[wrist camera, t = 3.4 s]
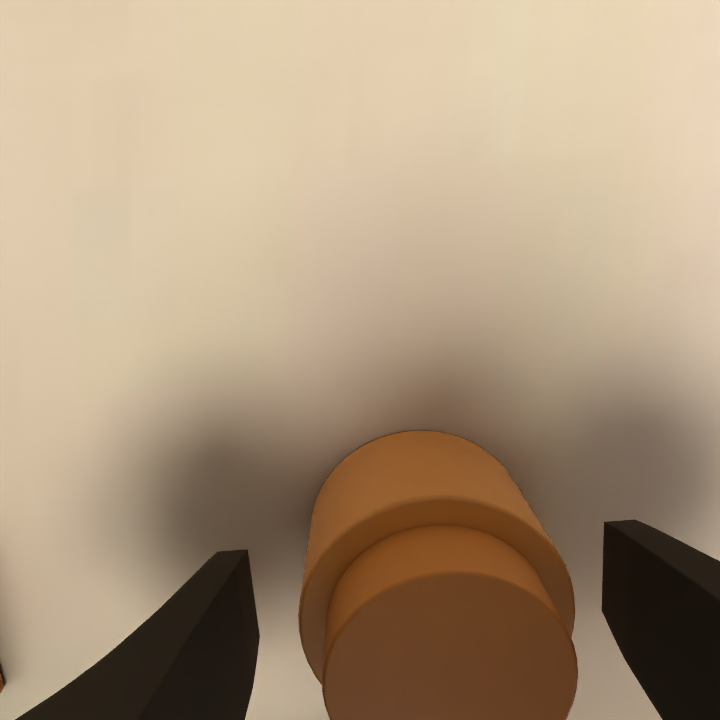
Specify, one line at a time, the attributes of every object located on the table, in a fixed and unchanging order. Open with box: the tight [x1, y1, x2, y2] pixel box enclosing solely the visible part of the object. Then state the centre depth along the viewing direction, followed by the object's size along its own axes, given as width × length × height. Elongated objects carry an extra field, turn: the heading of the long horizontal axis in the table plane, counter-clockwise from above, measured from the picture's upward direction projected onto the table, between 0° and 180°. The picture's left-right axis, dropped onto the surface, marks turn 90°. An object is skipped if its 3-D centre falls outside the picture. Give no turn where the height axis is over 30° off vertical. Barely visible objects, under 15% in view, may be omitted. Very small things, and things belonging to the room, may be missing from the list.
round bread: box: [298, 431, 578, 720], centre depth 11 cm, size 5×5×5 cm
